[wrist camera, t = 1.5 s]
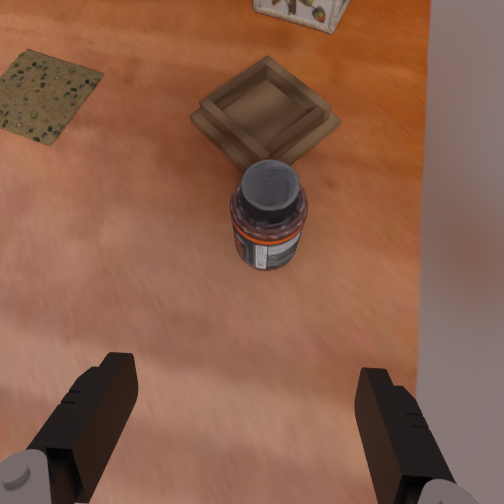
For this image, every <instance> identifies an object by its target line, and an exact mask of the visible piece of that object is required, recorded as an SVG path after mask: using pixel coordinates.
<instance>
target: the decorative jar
mask: <svg viewBox="0 0 504 504" xmlns="http://www.w3.org/2000/svg"><path fill="white" fill-rule="evenodd" d="M349 2H350V0H253V7H254V10H255V11H256V12H258V13H262V14H266V15H269V16H272V17H276V18H281V19H284V20H287V21H290V22H293V23H296V24H300V25H303V26H306V27H310V28H314V29H317V30H320V31H323V32H327V33H329V34H332V33H333V32H334V30H335V28H336V27H337V24H338V23H339V21H340V19H341V17H342V15H343V13H344V12H345V10H346V8H347V6H348V4H349Z"/></svg>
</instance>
